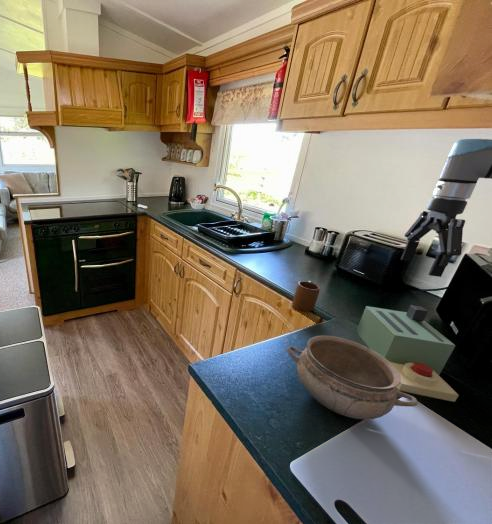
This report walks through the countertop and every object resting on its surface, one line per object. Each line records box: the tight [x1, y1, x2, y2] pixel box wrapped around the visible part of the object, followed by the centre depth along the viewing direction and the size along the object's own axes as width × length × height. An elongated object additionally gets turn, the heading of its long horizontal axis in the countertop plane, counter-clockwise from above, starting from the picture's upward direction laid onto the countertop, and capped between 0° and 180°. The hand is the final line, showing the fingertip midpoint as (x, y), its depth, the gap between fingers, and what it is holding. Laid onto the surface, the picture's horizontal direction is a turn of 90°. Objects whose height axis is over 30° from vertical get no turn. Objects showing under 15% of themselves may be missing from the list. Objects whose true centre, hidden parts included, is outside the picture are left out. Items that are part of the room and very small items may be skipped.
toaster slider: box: [406, 304, 429, 321], centre depth 88 cm, size 3×3×4 cm
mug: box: [291, 280, 321, 312], centre depth 112 cm, size 12×8×9 cm, turn 145°
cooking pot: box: [286, 335, 419, 420], centre depth 66 cm, size 25×19×12 cm
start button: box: [412, 363, 433, 377], centre depth 74 cm, size 4×4×2 cm
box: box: [390, 362, 460, 403], centre depth 75 cm, size 12×9×4 cm
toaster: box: [355, 305, 456, 376], centre depth 87 cm, size 14×17×10 cm
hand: (419, 267), depth 89 cm, fingers open, 13 cm apart
